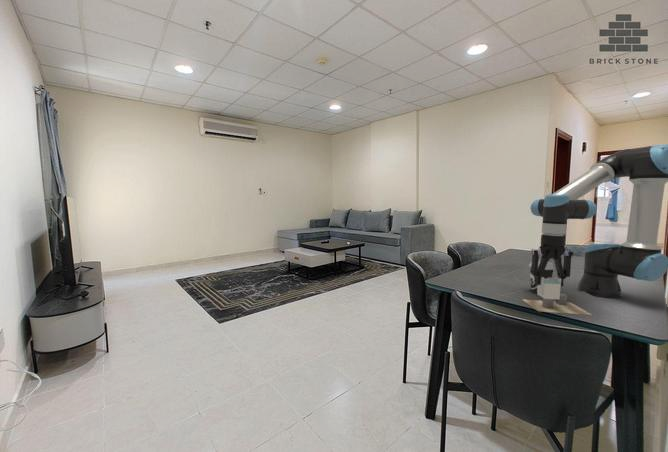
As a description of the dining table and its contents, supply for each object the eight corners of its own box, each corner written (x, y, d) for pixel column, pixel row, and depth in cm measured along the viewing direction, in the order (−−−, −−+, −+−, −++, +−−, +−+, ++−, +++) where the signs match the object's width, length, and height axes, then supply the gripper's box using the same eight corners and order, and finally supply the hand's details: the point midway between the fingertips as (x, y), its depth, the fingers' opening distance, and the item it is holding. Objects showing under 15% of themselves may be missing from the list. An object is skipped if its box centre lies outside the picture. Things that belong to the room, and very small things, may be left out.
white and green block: (551, 295, 116) (553, 278, 115) (559, 299, 110) (560, 282, 110) (537, 294, 116) (538, 278, 116) (544, 298, 111) (545, 281, 111)
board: (570, 305, 119) (570, 302, 119) (591, 317, 106) (592, 314, 106) (522, 302, 122) (522, 299, 122) (537, 314, 110) (537, 311, 110)
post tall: (549, 305, 115) (550, 288, 114) (553, 308, 112) (554, 290, 112) (542, 305, 115) (543, 288, 115) (545, 307, 113) (547, 290, 112)
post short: (562, 303, 118) (563, 293, 118) (566, 305, 116) (567, 295, 115) (555, 302, 119) (556, 293, 118) (559, 305, 116) (560, 295, 116)
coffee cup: (545, 300, 125) (547, 265, 124) (522, 293, 134) (524, 261, 132) (557, 296, 129) (559, 263, 128) (534, 290, 138) (536, 259, 136)
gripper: (574, 234, 113) (568, 292, 115) (522, 232, 116) (518, 288, 119) (587, 236, 106) (581, 298, 108) (531, 234, 109) (527, 294, 111)
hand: (548, 293), depth 113 cm, fingers closed on white and green block, 5 cm apart
